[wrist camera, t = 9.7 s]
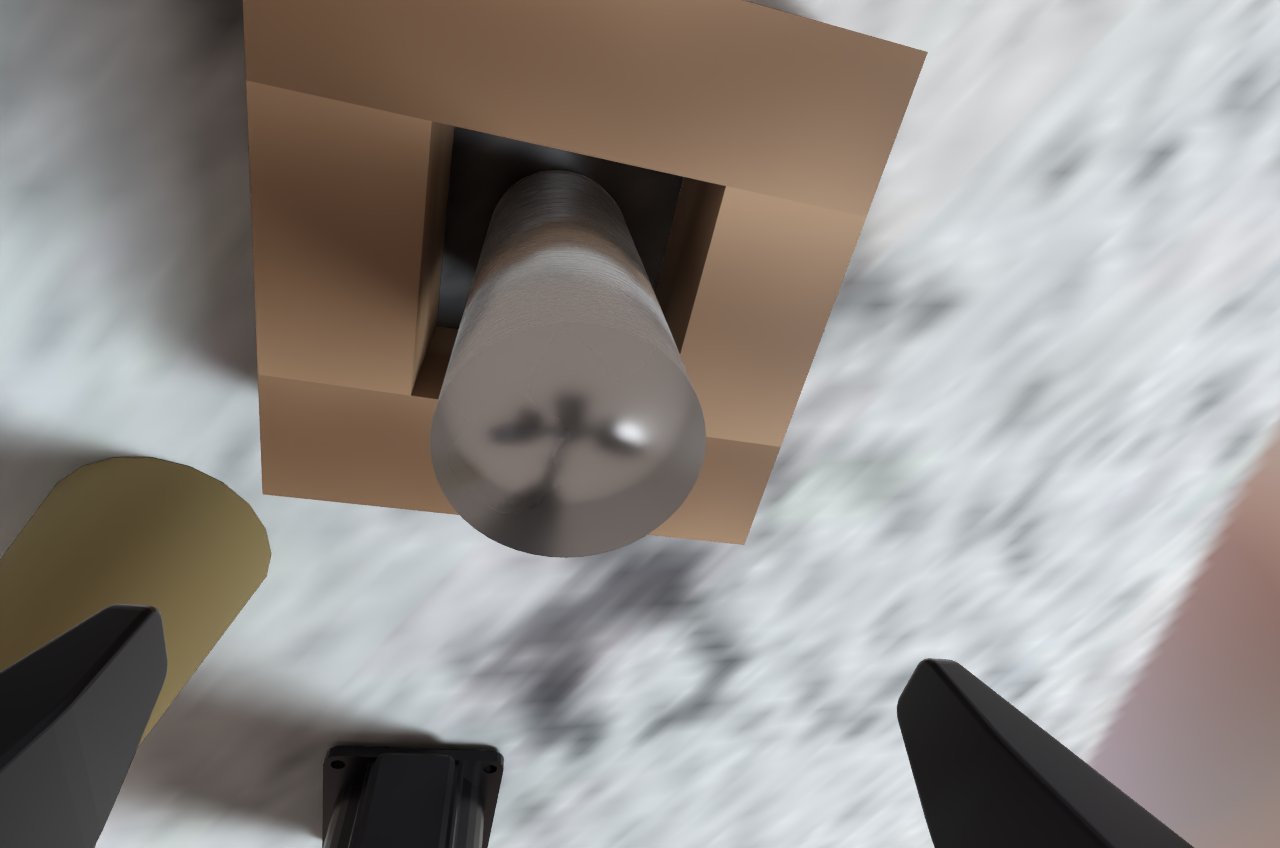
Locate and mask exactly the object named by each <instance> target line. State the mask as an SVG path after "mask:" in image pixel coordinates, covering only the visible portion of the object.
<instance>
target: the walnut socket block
mask: <svg viewBox="0 0 1280 848" xmlns="http://www.w3.org/2000/svg"><path fill="white" fill-rule="evenodd" d="M243 19H244V44H245V69H246V94H247V118H248V143H249V168H250V193H251V217H252V242H253V267H254V292H255V317H256V341H257V366H258V391H259V416H260V441H261V465H262V490H263V494H266V495H275V496H285V497H294V498H304V499H313V500H323V501H332V502H342V503H352V504H361V505H371V506H380V507H390V508H399V509H409V510H418V511H428V512H437V513H447V514H456V515H460V514H459V513H458V512H457V511H456V510H455V509H454V508H453V507H452V505H451V504H450V502H449V501H448V499H447V498H446V496H445V495H444V493H443V491H442V489H441V487H440V485H439V483H438V481H437V478H436V475H435V472H434V468H433V465H432V459H431V452H430V432H431V426H432V421H433V416H434V413H435V409H436V406H437V402H438V399H439V395H440V392H441V388H442V385H443V382H444V378H445V375H446V371H447V368H448V364H449V361H450V357H451V354H452V351H453V347H454V344H455V340H456V337H457V333H458V330H459V329H453V328H446V327H440V326H436V325H437V314H438V303H439V292H440V281H441V270H442V259H443V248H444V237H445V226H446V215H447V204H448V193H449V182H450V171H451V160H452V149H453V137H454V126H456V127H460V128H465V129H469V130H474V131H478V132H483V133H487V134H492V135H497V136H501V137H506V138H510V139H515V140H519V141H524V142H528V143H533V144H537V145H542V146H546V147H551V148H556V149H560V150H565V151H569V152H574V153H578V154H583V155H587V156H592V157H596V158H601V159H605V160H610V161H615V162H619V163H624V164H628V165H633V166H637V167H642V168H646V169H651V170H655V171H660V172H664V173H669V174H674V175H678V176H683V180H682V185H681V189H680V193H679V197H678V201H677V205H676V209H675V213H674V217H673V222H672V226H671V230H670V234H669V238H668V242H667V246H666V250H665V254H664V259H663V263H662V267H661V271H660V275H659V279H658V283H657V287H656V291H655V295H656V298H657V300H658V302H659V305H660V307H661V310H662V312H663V315H664V317H665V320H666V322H667V324H668V327H669V329H670V332H671V334H672V337H673V339H674V341H675V344H676V346H677V349H678V351H679V354H680V356H681V358H682V361H683V363H684V366H685V368H686V371H687V373H688V375H689V378H690V380H691V383H692V385H693V388H694V390H695V392H696V395H697V397H698V400H699V403H700V405H701V408H702V412H703V416H704V421H705V430H706V445H705V455H704V459H703V463H702V468H701V470H700V473H699V475H698V478H697V480H696V483H695V484H694V486H693V488H692V490H691V492H690V493H689V495H688V497H687V498H686V499H685V501H684V502H683V503H682V505H681V506H680V507H679V508H678V509H677V510H676V511H675V513H674V514H673V515H672V516H671V517H670V518H669V519H668V520H666V521H665V522H664V523H663V524H661V525H660V526H659V527H658V528H657V529H655V530H654V531H652V532H650V533H649V534H647V535H656V536H665V537H675V538H684V539H694V540H703V541H713V542H722V543H732V544H741V545H744V544H745V541H746V538H747V536H748V533H749V530H750V528H751V525H752V522H753V520H754V517H755V514H756V512H757V509H758V506H759V504H760V501H761V498H762V495H763V493H764V490H765V487H766V485H767V482H768V479H769V477H770V474H771V471H772V469H773V466H774V463H775V461H776V458H777V455H778V453H779V450H780V447H781V444H782V442H783V439H784V436H785V434H786V431H787V428H788V426H789V423H790V420H791V418H792V415H793V412H794V410H795V407H796V404H797V402H798V399H799V396H800V393H801V391H802V388H803V385H804V383H805V380H806V377H807V375H808V372H809V369H810V367H811V364H812V361H813V359H814V356H815V353H816V351H817V348H818V345H819V342H820V340H821V337H822V334H823V332H824V329H825V326H826V324H827V321H828V318H829V316H830V313H831V310H832V308H833V305H834V302H835V300H836V297H837V294H838V291H839V289H840V286H841V283H842V281H843V278H844V275H845V273H846V270H847V267H848V265H849V262H850V259H851V257H852V254H853V251H854V249H855V246H856V243H857V240H858V238H859V235H860V232H861V230H862V227H863V224H864V222H865V219H866V216H867V214H868V211H869V208H870V206H871V203H872V200H873V198H874V195H875V192H876V189H877V187H878V184H879V181H880V179H881V176H882V173H883V171H884V168H885V165H886V163H887V160H888V157H889V155H890V152H891V149H892V147H893V144H894V141H895V138H896V136H897V133H898V130H899V128H900V125H901V122H902V120H903V117H904V114H905V112H906V109H907V106H908V104H909V101H910V98H911V96H912V93H913V90H914V87H915V85H916V82H917V79H918V77H919V74H920V71H921V69H922V66H923V63H924V61H925V58H926V55H927V53H928V52H925V51H922V50H918V49H915V48H911V47H908V46H904V45H900V44H897V43H893V42H890V41H886V40H883V39H879V38H876V37H872V36H869V35H865V34H861V33H858V32H854V31H851V30H847V29H844V28H840V27H837V26H833V25H830V24H826V23H822V22H819V21H815V20H812V19H808V18H805V17H801V16H798V15H794V14H790V13H787V12H783V11H780V10H776V9H773V8H769V7H766V6H762V5H759V4H755V3H751V2H748V1H744V0H243Z"/></svg>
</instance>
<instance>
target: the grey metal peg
mask: <svg viewBox="0 0 1280 848" xmlns="http://www.w3.org/2000/svg"><path fill="white" fill-rule="evenodd" d="M705 445H706V430H705V421H704V416H703V412H702V408H701V405H700V403H699V400H698V397H697V395H696V392H695V390H694V388H693V385H692V383H691V380H690V378H689V375H688V373H687V371H686V368H685V366H684V363H683V361H682V358H681V356H680V354H679V351H678V349H677V346H676V344H675V341H674V339H673V337H672V334H671V332H670V329H669V327H668V324H667V322H666V320H665V317H664V315H663V312H662V310H661V307H660V305H659V302H658V300H657V298H656V295H655V293H654V290H653V288H652V285H651V283H650V281H649V278H648V276H647V273H646V271H645V268H644V266H643V264H642V261H641V259H640V256H639V254H638V251H637V249H636V247H635V244H634V242H633V239H632V237H631V234H630V232H629V230H628V227H627V225H626V222H625V220H624V217H623V215H622V213H621V210H620V209H619V207H618V205H617V203H616V202H615V201H614V199H613V198H612V196H611V195H610V194H609V193H608V192H607V191H606V190H605V189H604V188H603V187H601V186H600V185H599V184H598V183H596V182H595V181H593V180H591V179H590V178H588V177H585V176H583V175H581V174H578V173H574V172H570V171H563V170H549V171H542V172H538V173H535V174H532V175H530V176H527V177H525V178H523V179H521V180H520V181H518V182H517V183H515V184H514V185H513V186H512V187H510V188H509V189H508V190H507V191H506V193H505V194H504V195H503V196H502V197H501V199H500V200H499V202H498V203H497V205H496V207H495V209H494V211H493V214H492V217H491V220H490V223H489V227H488V230H487V234H486V237H485V241H484V244H483V247H482V251H481V254H480V258H479V261H478V265H477V268H476V272H475V275H474V278H473V282H472V285H471V289H470V292H469V296H468V299H467V302H466V306H465V309H464V313H463V316H462V320H461V323H460V327H459V330H458V333H457V337H456V340H455V344H454V347H453V351H452V354H451V357H450V361H449V364H448V368H447V371H446V375H445V378H444V382H443V385H442V388H441V392H440V395H439V399H438V402H437V406H436V409H435V413H434V416H433V421H432V426H431V432H430V452H431V459H432V465H433V468H434V472H435V475H436V478H437V481H438V483H439V485H440V487H441V489H442V491H443V493H444V495H445V496H446V498H447V499H448V501H449V502H450V504H451V505H452V507H453V508H454V509H455V510H456V511H457V512H458V513H459V514H460V516H461V517H462V518H463V519H464V520H466V521H467V522H468V523H469V524H470V525H471V526H473V527H474V528H475V529H476V530H478V531H479V532H481V533H482V534H484V535H485V536H487V537H488V538H490V539H492V540H494V541H496V542H498V543H500V544H502V545H505V546H507V547H510V548H513V549H515V550H518V551H522V552H526V553H530V554H534V555H541V556H548V557H565V558H567V557H583V556H589V555H596V554H601V553H604V552H608V551H612V550H615V549H618V548H620V547H623V546H626V545H628V544H631V543H633V542H635V541H637V540H639V539H641V538H643V537H644V536H646V535H647V534H649V533H650V532H652V531H654V530H655V529H657V528H658V527H659V526H660V525H661V524H663V523H664V522H665V521H666V520H668V519H669V518H670V517H671V516H672V515H673V514H674V513H675V511H676V510H677V509H678V508H679V507H680V506H681V505H682V503H683V502H684V501H685V499H686V498H687V497H688V495H689V493H690V492H691V490H692V488H693V486H694V484H695V483H696V480H697V478H698V475H699V473H700V470H701V468H702V463H703V459H704V455H705Z"/></svg>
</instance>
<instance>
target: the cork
mask: <svg viewBox="0 0 1280 848" xmlns="http://www.w3.org/2000/svg"><path fill="white" fill-rule="evenodd" d="M270 558H271V550H270V545H269V541H268V537H267V532H266V529H265V527H264V526H263V524H262V523H261V521H260V520H259V518H258V517H257V515H256V514H255V512H254V511H253V509H252V508H251V506H250V505H249V504H248V503H247V502H246V501H244V500H243V499H242V498H241V497H240V496H238V495H237V494H236V493H235V492H234V491H232V490H231V489H230V488H229V487H228V486H226V485H225V484H224V483H222V482H220V481H218V480H216V479H214V478H212V477H210V476H208V475H206V474H204V473H202V472H200V471H198V470H196V469H194V468H192V467H189V466H185V465H181V464H177V463H173V462H168V461H164V460H160V459H156V458H133V457H114V458H110V459H107V460H103V461H99V462H95V463H92V464H88V465H84V466H81V467H80V468H78V469H77V470H75V471H74V472H72V473H71V474H70V475H68V476H67V477H65V478H64V479H62V480H61V481H59V482H58V483H57V484H56V485H55V487H54V488H53V489H52V491H51V492H50V493H49V495H48V496H47V497H46V499H45V500H44V501H43V503H42V504H41V505H40V507H39V508H38V510H37V511H36V512H35V514H34V515H33V516H32V518H31V519H30V520H29V522H28V523H27V524H26V526H25V527H24V528H23V530H22V531H21V532H20V534H19V535H18V536H17V538H16V539H15V540H14V542H13V543H12V544H11V546H10V547H9V548H8V550H7V551H6V553H5V554H4V555H3V557H2V558H1V559H0V671H2V670H4V669H5V668H7V667H9V666H10V665H12V664H14V663H15V662H17V661H18V660H20V659H22V658H23V657H25V656H27V655H28V654H30V653H32V652H33V651H35V650H37V649H38V648H40V647H41V646H43V645H45V644H46V643H48V642H50V641H51V640H53V639H55V638H56V637H58V636H59V635H61V634H63V633H64V632H66V631H68V630H69V629H71V628H73V627H74V626H76V625H78V624H79V623H81V622H82V621H84V620H86V619H87V618H89V617H91V616H92V615H94V614H96V613H97V612H99V611H100V610H102V609H104V608H106V607H108V606H110V605H113V604H133V605H148V606H153V607H156V608H158V609H159V611H160V612H161V615H162V620H163V627H164V634H165V642H166V649H167V656H168V669H167V675H166V679H165V682H164V685H163V687H162V690H161V692H160V695H159V697H158V699H157V702H156V704H155V707H154V709H153V711H152V714H151V716H150V719H149V721H148V723H147V726H146V728H145V731H144V733H143V735H142V738H141V740H140V743H139V745H138V747H139V746H140V744H141V743H142V742H143V740H144V739H145V738H146V736H147V735H148V734H149V732H150V731H151V730H152V728H153V727H154V726H155V724H156V723H157V722H158V720H159V719H160V718H161V716H162V715H163V714H164V712H165V711H166V710H167V708H168V707H169V706H170V704H171V703H172V702H173V700H174V699H175V698H176V696H177V695H178V694H179V692H180V691H181V690H182V688H183V687H184V686H185V684H186V683H187V682H188V680H189V679H190V678H191V676H192V675H193V674H194V672H195V671H196V670H197V668H198V667H199V666H200V664H201V663H202V662H203V660H204V659H205V658H206V656H207V655H208V654H209V652H210V651H211V650H212V648H213V647H214V646H215V644H216V643H217V642H218V640H219V639H220V638H221V636H222V635H223V634H224V632H225V631H226V630H227V628H228V627H229V626H230V624H231V623H232V622H233V620H234V619H235V618H236V616H237V615H238V614H239V612H240V611H241V610H242V608H243V607H244V606H245V604H246V603H247V602H248V600H249V599H250V598H251V596H252V595H253V594H254V592H255V591H256V590H257V588H258V587H259V586H260V584H261V583H262V582H263V580H264V579H265V578H266V576H267V572H268V567H269V563H270ZM138 747H137V748H138ZM95 845H96V844H95ZM94 848H95V846H94Z"/></svg>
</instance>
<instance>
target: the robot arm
mask: <svg viewBox="0 0 1280 848" xmlns="http://www.w3.org/2000/svg"><path fill="white" fill-rule="evenodd" d="M167 669H168V656H167V649H166V642H165V634H164V627H163V620H162V615H161V612H160V611H159V609H158V608H156V607H153V606H148V605H133V604H113V605H110V606H108V607H106V608H104V609H102V610H100V611H99V612H97V613H96V614H94V615H92V616H91V617H89V618H87V619H86V620H84V621H82V622H81V623H79V624H78V625H76V626H74V627H73V628H71V629H69V630H68V631H66V632H64V633H63V634H61V635H59V636H58V637H56V638H55V639H53V640H51V641H50V642H48V643H46V644H45V645H43V646H41V647H40V648H38V649H37V650H35V651H33V652H32V653H30V654H28V655H27V656H25V657H23V658H22V659H20V660H18V661H17V662H15V663H14V664H12V665H10V666H9V667H7V668H5V669H4V670H2V671H0V848H94V846H95V844H96V842H97V840H98V838H99V836H100V834H101V832H102V830H103V828H104V826H105V823H106V821H107V819H108V817H109V814H110V812H111V810H112V808H113V805H114V803H115V800H116V798H117V796H118V793H119V791H120V788H121V786H122V784H123V781H124V779H125V776H126V774H127V772H128V769H129V767H130V764H131V762H132V759H133V757H134V755H135V752H136V750H137V747H138V745H139V743H140V740H141V738H142V735H143V733H144V731H145V728H146V726H147V723H148V721H149V719H150V716H151V714H152V711H153V709H154V707H155V704H156V702H157V699H158V697H159V695H160V692H161V690H162V687H163V685H164V682H165V679H166V675H167ZM897 717H898V722H899V725H900V729H901V733H902V736H903V740H904V743H905V747H906V751H907V754H908V758H909V761H910V765H911V769H912V772H913V776H914V779H915V783H916V787H917V790H918V794H919V797H920V801H921V805H922V808H923V812H924V815H925V819H926V822H927V825H928V829H929V832H930V835H931V838H932V841H933V844H934V847H935V848H1194V847H1193V846H1192V845H1190V844H1189V843H1187V842H1186V841H1185V840H1184V839H1183V838H1181V837H1180V836H1179V835H1177V834H1176V833H1175V832H1174V831H1172V830H1171V829H1169V828H1168V827H1167V826H1166V825H1165V824H1163V823H1162V822H1161V821H1159V820H1158V819H1157V818H1156V817H1154V816H1153V815H1152V814H1151V813H1149V812H1148V811H1147V810H1145V809H1144V808H1143V807H1142V806H1140V805H1139V804H1138V803H1137V802H1135V801H1134V800H1133V799H1131V798H1130V797H1129V796H1127V795H1126V794H1125V793H1124V792H1122V791H1121V790H1120V789H1119V788H1117V787H1116V786H1115V785H1113V784H1112V783H1111V782H1110V781H1108V780H1107V779H1106V778H1105V777H1103V776H1102V775H1101V774H1099V773H1098V772H1097V771H1096V770H1094V769H1093V768H1092V767H1091V766H1089V765H1088V764H1087V763H1085V762H1084V761H1083V760H1082V759H1080V758H1079V757H1078V756H1076V755H1075V754H1074V753H1073V752H1071V751H1070V750H1069V749H1068V748H1066V747H1065V746H1064V745H1062V744H1061V743H1060V742H1059V741H1057V740H1056V739H1055V738H1053V737H1052V736H1051V735H1050V734H1048V733H1047V732H1046V731H1044V730H1043V729H1042V728H1041V727H1039V726H1038V725H1037V724H1036V723H1034V722H1033V721H1032V720H1030V719H1029V718H1028V717H1027V716H1025V715H1024V714H1023V713H1021V712H1020V711H1019V710H1018V709H1016V708H1015V707H1014V706H1013V705H1011V704H1010V703H1009V702H1007V701H1006V700H1005V699H1004V698H1002V697H1001V696H1000V695H998V694H997V693H996V692H995V691H993V690H992V689H991V688H990V687H988V686H987V685H986V684H984V683H983V682H982V681H981V680H979V679H978V678H977V677H975V676H974V675H973V674H972V673H970V672H969V671H968V670H967V669H965V668H964V667H963V666H961V665H960V664H959V663H957V662H955V661H952V660H946V659H931V658H928V659H924V660H923V661H921V662H920V663H919V664H918V665H917V667H916V669H915V671H914V672H913V674H912V676H911V678H910V680H909V681H908V683H907V685H906V687H905V688H904V690H903V692H902V694H901V696H900V698H899V700H898V704H897ZM503 768H504V757H503V756H502V754H500V753H498V752H493V751H466V750H437V749H409V748H381V747H352V746H336V747H333V748H331V749H329V750H328V751H327V754H326V758H325V761H324V764H323V842H322V848H487V847H488V842H489V837H490V833H491V828H492V823H493V818H494V813H495V808H496V803H497V798H498V793H499V789H500V784H501V779H502V774H503Z"/></svg>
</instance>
